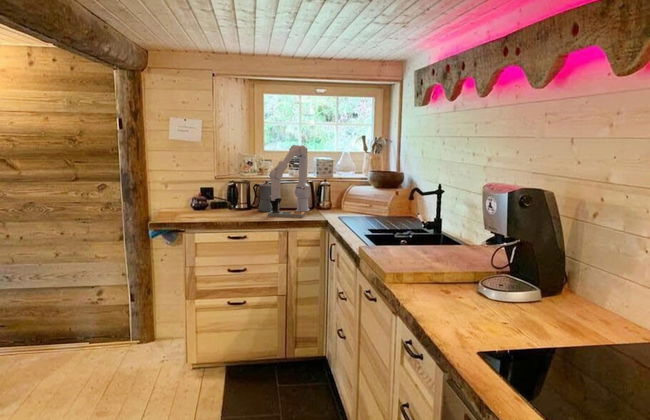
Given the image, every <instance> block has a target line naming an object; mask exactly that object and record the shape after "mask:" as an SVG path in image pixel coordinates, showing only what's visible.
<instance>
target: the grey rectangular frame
mask: <svg viewBox="0 0 650 420" xmlns="http://www.w3.org/2000/svg"><path fill="white" fill-rule="evenodd" d="M267 217H274V218H275V217H277V218H295V217H303V218H304V217H306V212H301V211H280V210H279V213H272V211H271V212H267Z"/></svg>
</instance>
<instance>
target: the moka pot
mask: <svg viewBox="0 0 650 420" xmlns="http://www.w3.org/2000/svg"><path fill="white" fill-rule="evenodd" d="M257 187H258V188H259V189H258V190H259V196H258V195H257V191H256V188H257ZM252 189H253V192H254V196H255V198H257V199H259V205H258V208H257V209H258V211H259V212H263V213H269V212H271V211H272V204H271V202H270V200H271V197H269V196H271V183H268V181H267V180H266V181H265V183H263V184H260V183H255V184H254V185H253V187H252Z"/></svg>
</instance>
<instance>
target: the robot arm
mask: <svg viewBox="0 0 650 420" xmlns="http://www.w3.org/2000/svg"><path fill="white" fill-rule="evenodd" d="M288 149H289V151H288V152H287V154H286V156H285V157H284V159H283V160H280V161H279V162H278V163H277V165H276V166H275V167H274V168H273V169H272V170H271V171H269V174H268V176H269V177H268V178H270V184H271V196H269V197H271V200H270V202H271V207H273V211H277V207H278V203H279V206H281V205H280V204H281V201H282V196H281V179H282V178H283V175H284V172H285V171H286V170H287V168H288V167H289V166H288V164H289V163H290V162H291V161H292V160H293V159H294V158H295V157H297V159H298V160H299V162H298V183H297V184H296V185H295V189H294V195H295V196H296V202H297V203H296V209H295V212H305V213H306V212H307V213H308V212H309V211H310V208H309V198H310V196H311V186H310V185H309V183H308V160H309V159H308V148H307V146H306V145H305V144H301V145H299V144H297V145H296V144H292V145H291V146H290V147H289V148H288Z"/></svg>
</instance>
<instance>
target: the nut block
mask: <svg viewBox="0 0 650 420" xmlns="http://www.w3.org/2000/svg"><path fill="white" fill-rule="evenodd" d="M271 207H272V206H271ZM279 211H280V205H279V203H278V207H277V211H273V207H272V213H279Z"/></svg>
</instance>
